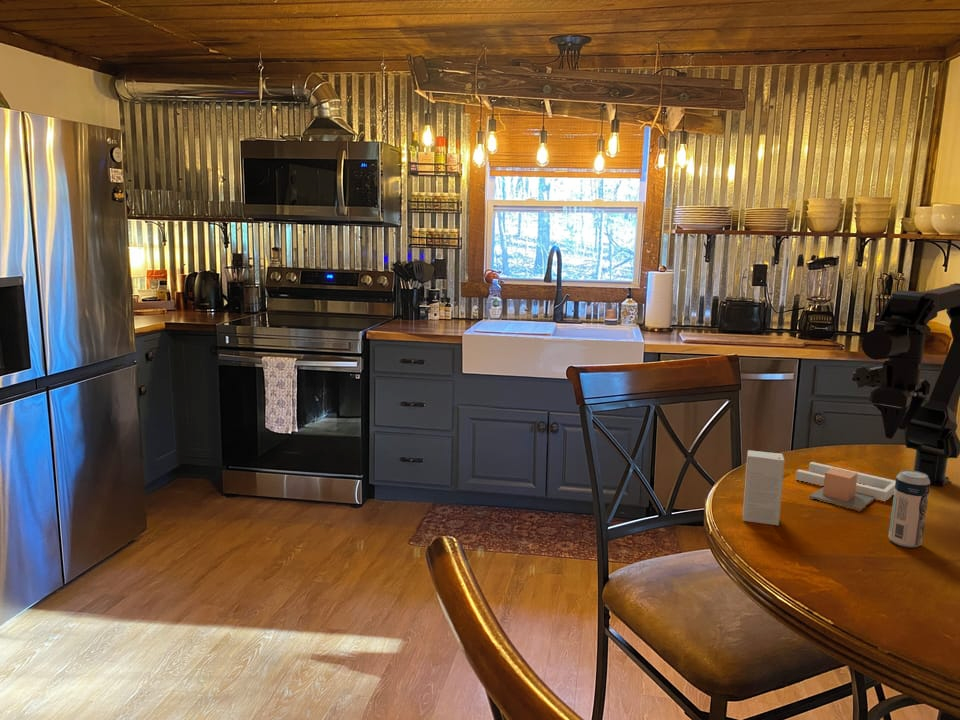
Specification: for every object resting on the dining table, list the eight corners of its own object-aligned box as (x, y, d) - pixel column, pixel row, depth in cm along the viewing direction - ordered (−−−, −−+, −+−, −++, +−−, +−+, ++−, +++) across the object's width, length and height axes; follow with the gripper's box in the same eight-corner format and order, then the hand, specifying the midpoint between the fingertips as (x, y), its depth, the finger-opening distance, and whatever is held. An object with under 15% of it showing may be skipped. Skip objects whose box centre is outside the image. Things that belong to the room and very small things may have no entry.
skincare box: (777, 517, 128) (783, 453, 126) (778, 526, 124) (785, 460, 122) (741, 512, 130) (747, 449, 128) (741, 521, 126) (747, 456, 124)
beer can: (926, 550, 116) (936, 480, 113) (894, 547, 116) (903, 477, 114) (914, 538, 120) (924, 470, 118) (883, 535, 121) (892, 468, 119)
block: (830, 489, 141) (832, 467, 141) (854, 495, 138) (857, 473, 138) (822, 494, 138) (825, 472, 137) (847, 501, 135) (850, 478, 134)
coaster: (825, 487, 144) (826, 484, 144) (874, 499, 138) (874, 496, 138) (809, 498, 138) (810, 495, 138) (860, 511, 132) (860, 508, 131)
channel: (810, 470, 155) (811, 461, 154) (897, 490, 143) (898, 481, 143) (795, 480, 148) (796, 470, 148) (884, 502, 137) (886, 492, 136)
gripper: (874, 345, 150) (865, 417, 153) (845, 355, 137) (836, 434, 140) (935, 352, 143) (925, 428, 145) (910, 363, 129) (900, 446, 132)
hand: (895, 433), depth 141 cm, fingers open, 9 cm apart
